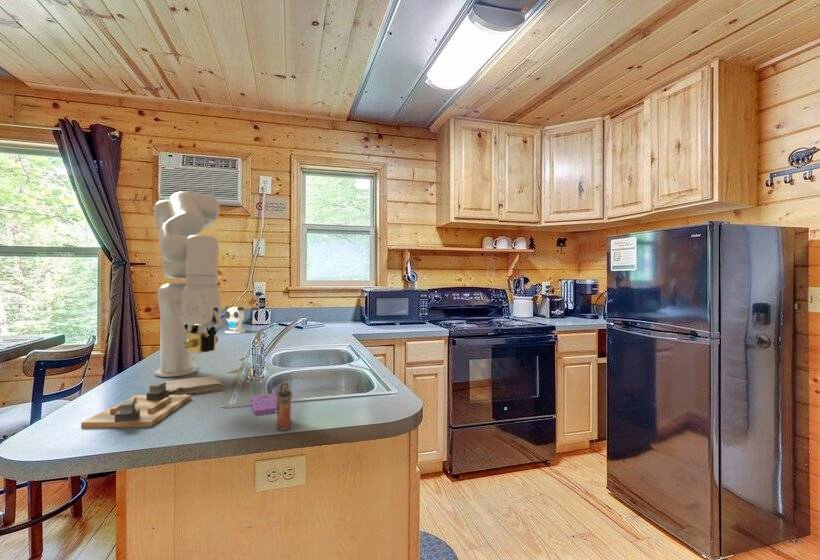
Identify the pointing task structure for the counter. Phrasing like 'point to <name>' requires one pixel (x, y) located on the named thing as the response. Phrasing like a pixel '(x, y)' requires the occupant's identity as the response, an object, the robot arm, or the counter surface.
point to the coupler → (196, 342)
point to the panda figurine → (234, 319)
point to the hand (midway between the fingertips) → (201, 349)
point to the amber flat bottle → (283, 408)
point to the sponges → (264, 403)
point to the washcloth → (193, 385)
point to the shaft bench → (143, 412)
